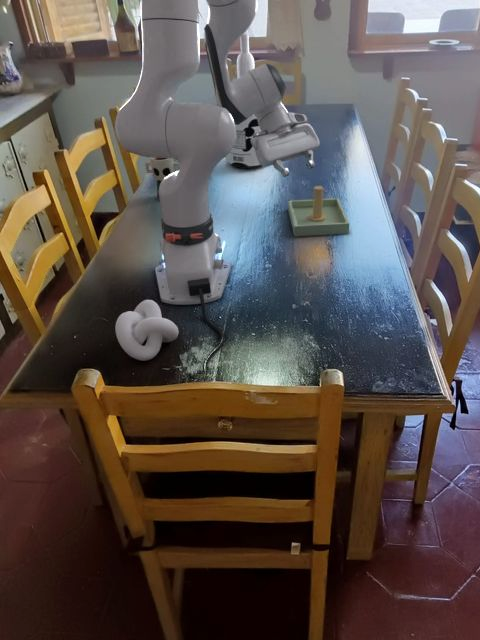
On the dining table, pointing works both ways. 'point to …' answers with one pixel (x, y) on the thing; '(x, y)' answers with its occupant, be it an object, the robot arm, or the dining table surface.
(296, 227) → the tray
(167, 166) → the character mug
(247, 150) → the milk container
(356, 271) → the dining table surface
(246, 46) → the bottle
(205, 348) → the dining table surface
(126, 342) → the white trefoil knot
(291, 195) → the dining table surface
